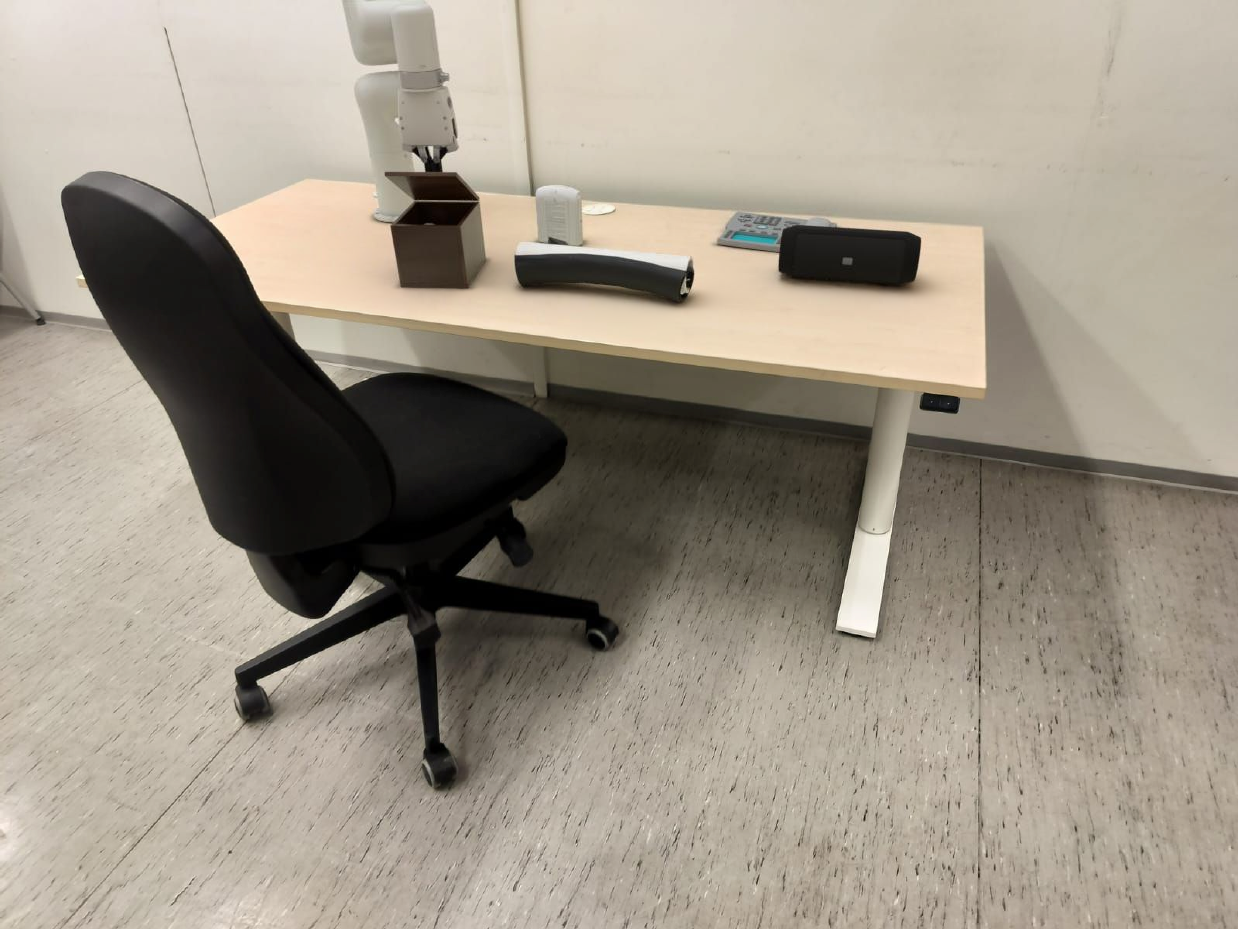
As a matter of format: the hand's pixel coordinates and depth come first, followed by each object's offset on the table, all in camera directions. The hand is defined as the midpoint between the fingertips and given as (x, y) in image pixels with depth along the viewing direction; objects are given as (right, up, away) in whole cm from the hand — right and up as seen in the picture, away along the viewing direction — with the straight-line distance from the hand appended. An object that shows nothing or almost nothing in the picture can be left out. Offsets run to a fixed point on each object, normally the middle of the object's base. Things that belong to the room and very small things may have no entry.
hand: (435, 182), depth 165 cm
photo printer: (+23, -6, +22) cm, 32 cm away
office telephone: (+70, -5, +23) cm, 74 cm away
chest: (0, -16, +8) cm, 18 cm away
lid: (0, -2, -1) cm, 2 cm away
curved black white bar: (+34, -20, +1) cm, 39 cm away
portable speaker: (+80, -19, +1) cm, 82 cm away
